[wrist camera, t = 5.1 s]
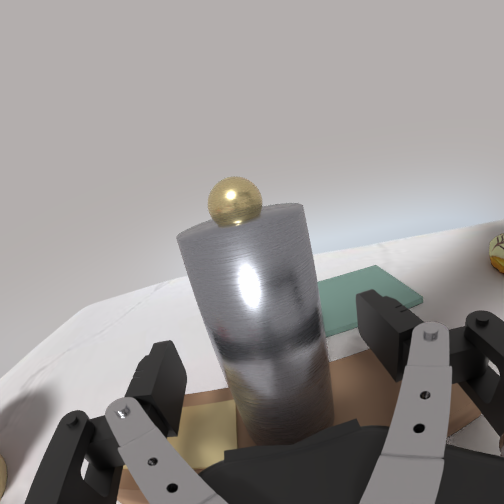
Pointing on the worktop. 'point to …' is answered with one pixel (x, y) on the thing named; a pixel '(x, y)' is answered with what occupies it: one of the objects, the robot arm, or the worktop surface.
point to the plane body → (345, 409)
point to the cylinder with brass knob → (262, 311)
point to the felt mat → (348, 285)
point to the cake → (2, 476)
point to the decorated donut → (497, 252)
